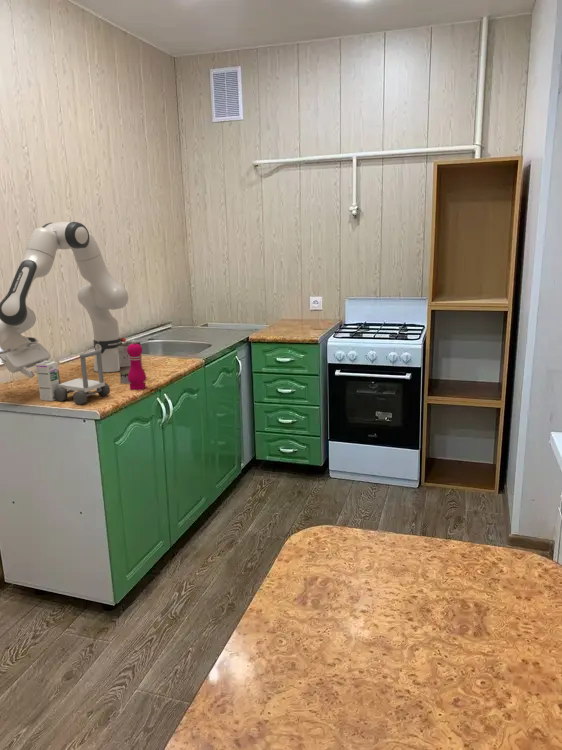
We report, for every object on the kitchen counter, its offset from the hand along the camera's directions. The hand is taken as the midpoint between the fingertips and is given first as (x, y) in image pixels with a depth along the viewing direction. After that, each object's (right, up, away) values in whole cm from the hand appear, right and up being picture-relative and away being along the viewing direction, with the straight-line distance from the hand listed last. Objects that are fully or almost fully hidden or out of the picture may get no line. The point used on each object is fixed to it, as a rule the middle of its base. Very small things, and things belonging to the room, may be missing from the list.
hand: (40, 373), depth 223 cm
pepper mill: (+34, -6, +15) cm, 37 cm away
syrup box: (+3, -10, +2) cm, 11 cm away
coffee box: (+28, -3, +26) cm, 39 cm away
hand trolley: (+15, -9, +2) cm, 18 cm away
